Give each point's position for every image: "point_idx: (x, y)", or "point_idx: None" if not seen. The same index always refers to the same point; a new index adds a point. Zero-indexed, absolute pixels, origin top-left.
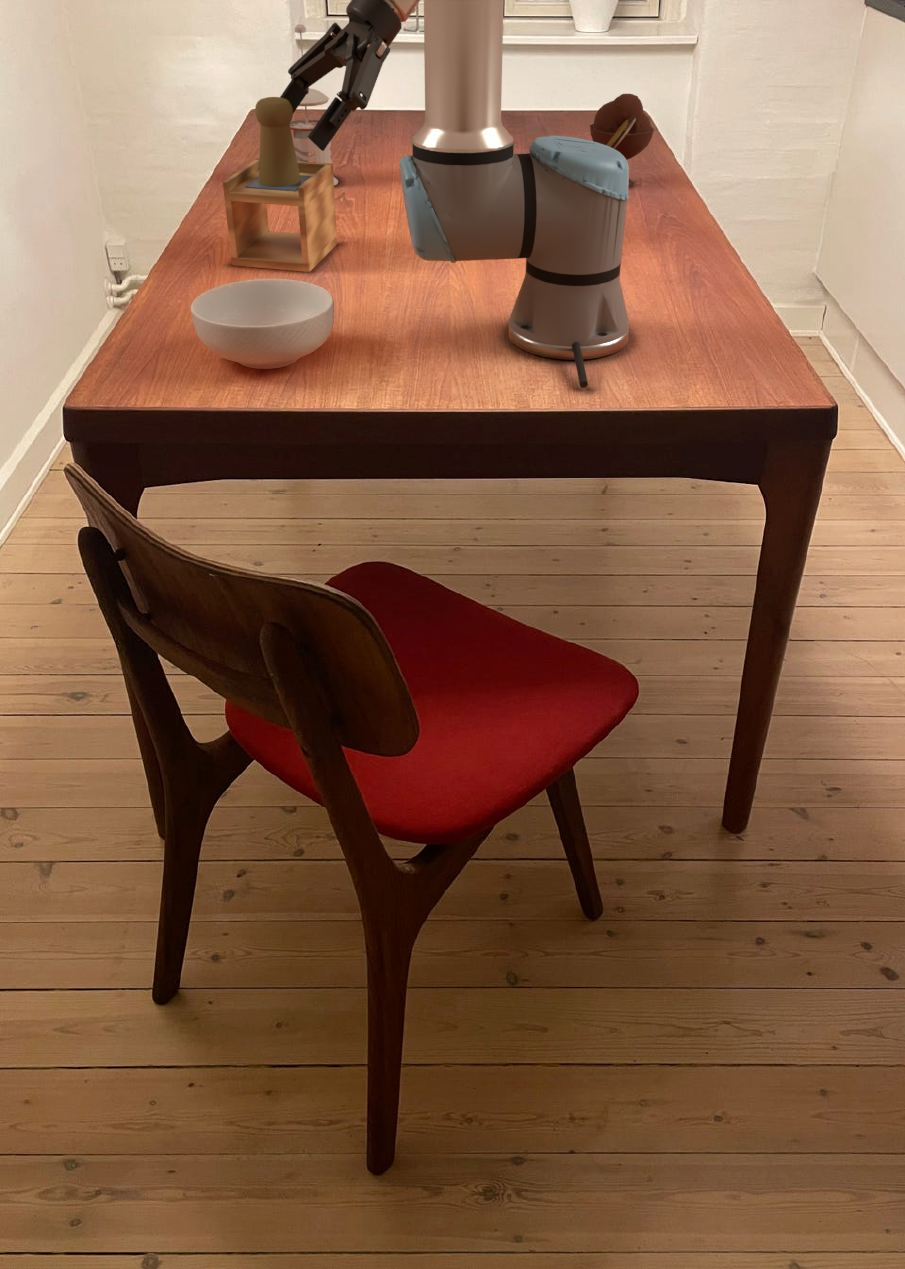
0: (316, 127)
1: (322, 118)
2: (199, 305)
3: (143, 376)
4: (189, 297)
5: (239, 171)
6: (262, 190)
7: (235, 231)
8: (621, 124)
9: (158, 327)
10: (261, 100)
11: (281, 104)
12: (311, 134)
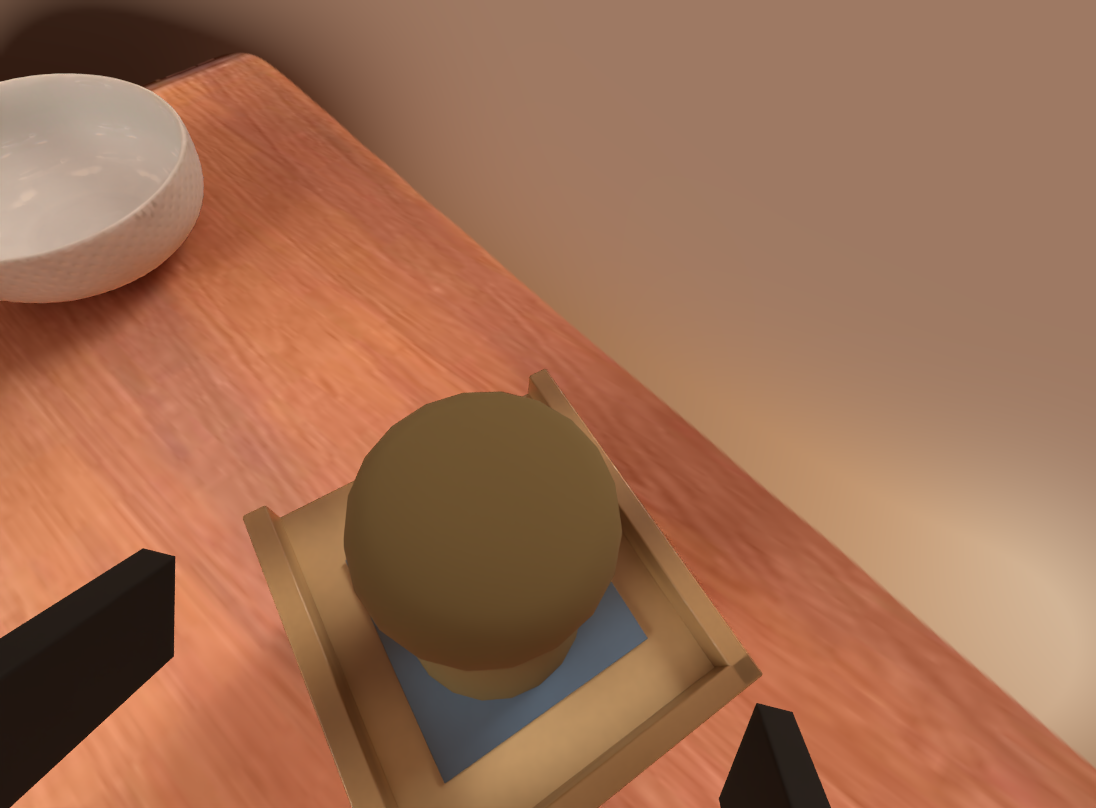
0: (79, 594)
1: (3, 649)
2: (172, 124)
3: (242, 121)
4: (440, 310)
5: (618, 484)
6: None
7: None
8: None
9: (368, 212)
10: (525, 418)
11: (360, 486)
12: (133, 563)
